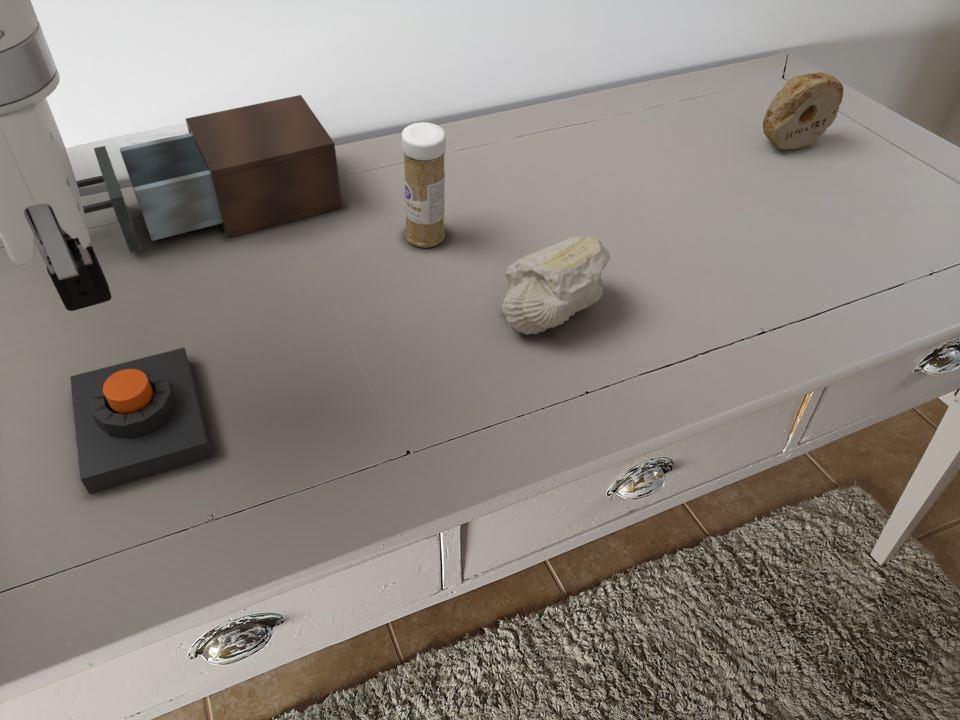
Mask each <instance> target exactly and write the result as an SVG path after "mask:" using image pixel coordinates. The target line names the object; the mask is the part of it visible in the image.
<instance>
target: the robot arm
mask: <svg viewBox="0 0 960 720" xmlns="http://www.w3.org/2000/svg"><path fill="white" fill-rule="evenodd" d="M59 84H60V73H59V71H58V68H57V66H56V62H55V60H54V58H53V55H52V52H51V50H50V46H49V44H48V42H47V40H46V37H45V34H44V32H43V29H42V27H41V24H40V21H39V18H38V15H37V13H36V10H35V8H34V6H33V3H32V1H31V0H0V239H1V242H2V244H3V246H4V248H5V251H6V252H7V255H8V257H9V258H10V261H11V262H12V263H14V264H15V265H18V266H25V265H26V264H29V263H33V261H34V251H35V250H34V249H35V247H36V249H37V250H38V252H39V254H40V256H41V258H42V260H43V262H44V264H45V265H46V271H47V273H48V275H49V277H50V279H51V281H52V284H53V286H54V287H55V290H56V291H57V293H58V296H59V298H60V300H61V302H62V303H63V306H64V308H65V310H67V311H68V312H75V311H78V310H81V309H85V308H89V307H93V306H96V305H99V304H103V303H106V302H107V303H108V302H109V301H111V300H112V297H113V296H112V293H111V290H110V287H109V282H108V280H107V278H106V276H105V273H104V271H103V269H102V266H101V264H100V262H99V259H98V257H97V255H96V252H95V250H94V247H93V245H90V242H91V236H90V232H89V227H88V222H87V218H86V214H84V209H83V206H84V205H83V201H82V198H81V193H80V190H79V189H80V188H78V186H77V182H76V181H77V179H76V175H75V173H74V169H73V166H72V163H71V160H70V157H69V154H68V152H67V151H68V150H67V148H66V145H65V142H64V140H63V138H62V135H61V132H60V130H59V127H58V124H57V122H56V120H55V117H54V115H53V112H52V109H51V106H50V105H49V101H48V100H47V97H49V96H50V95H52V93H53V92H54V91H56V89H57V87H58V85H59Z"/></svg>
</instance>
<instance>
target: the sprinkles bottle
mask: <svg viewBox="0 0 960 720" xmlns="http://www.w3.org/2000/svg"><path fill="white" fill-rule="evenodd" d="M446 134H447V133H446V132H445V130H444V129H443V128H442V127H441V126H440V125H437V124H435V123H432V122H423V121H421V122H414V123H411V124H409V125H407V126H406V127H405V128H403V130H402V131H401V151H402V153H403V164H404V165H403V166H404V209H405V210H404V212H405V223H406V224H405V226H406V229H405V239H406V240H407V242H408V243H409V244H410V245H412V246H415V247H417V248H423V249H424V248H425V249H426V248H427V249H428V248H432V247H435V246H438V245H439V244H441V243H442V242H443V241H444V239H445V237H446V236H445V235H446V234H445V233H446V232H445V225H444V223H445V220H444V219H445V201H446V199H445V196H446V195H445V194H446V193H445V192H446V191H445V189H446V187H445V186H446V184H445V183H446V181H445V179H446V178H445V177H446V175H445V153H446V150H447V135H446Z"/></svg>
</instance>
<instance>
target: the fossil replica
mask: <svg viewBox="0 0 960 720" xmlns="http://www.w3.org/2000/svg"><path fill="white" fill-rule="evenodd" d="M610 259H611V254H610V251H609V250H608V249H607V248H606V247H605V246H604V244H603V243H602V242H601V241H600V239H599V238H596V237H595V236H594V237H593V236H589V237H588V236H571V237H568V238H565V239H564V240H563V241H558V242H556V243H554V244H551V245H548V246H546V247H544V248H542V249H539V250H537V251H534V252H531V253H529V254H527V255H524V256H522V257H521V258H518V259H517V260H515V261H514V262H512V264H511V265H509V266H507V268H506V270H505V273H504V277H505V278H506V280H507V281H508V284H509V287H510V288H509V289H508V290H507V292H506V295H505V297H504V299H503V301H502V305H501V309H502V313H503V315H504V316H505V319H506V321H507V322H508V325H509V326H510V328H512V329H514V330H515V331H516V332H517V333H522V334H524V335H528V336H529V335H538V333H542V332H546V330H547V329H551V328H556V327H558V326H562V325H564V323H565V322H567V321H569V320H570V318H571V316H575V314H576V312H580V311H581V310H585V309H588V308H589V307H591V306H592V305H593V304H596V303H597V302H598V301H600V299H601V297H602V296H603V293H604V292H603V291H604V289H603V286H604V285H603V282H604V281H603V279H602V273H603V270H604V269H605V267H606V266H607V265H608V263H609V262H610Z"/></svg>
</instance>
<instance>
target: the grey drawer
mask: <svg viewBox="0 0 960 720" xmlns="http://www.w3.org/2000/svg"><path fill="white" fill-rule="evenodd" d="M93 151H94V154H95V157H96V161H97V164H98V166H99V169H100V170H99V171H100V172H101V175H97V176H92V177H88V178H82V179H79V180H76V182H77V186H78V189H80V188H85V187H90V186H94V185H95V186H96V185H99V184H102V183H103V184H104V185H105V188H106V191H107V194H108V197H109V199H108V200H103V201H99V202H95V203H92V204H87V205H83V209H84V214H85V215H86V214H89V213H93V212H98V211H102V210H106V209H111V208H113V211H114V214H115V216H116V219H117V222H118V225H119V227H120V229H121V232H122V236H123V237H124V240H125V242H126V246H127V248H128V251H129V253H130V254H132V253H136V252H140V251H142V249H143V248H142V247H141V244H140V241H139V238H138V235H137V232H136V229H135V226H134V224H133V221H132V218H131V215H130V212H129V209H128V206H127V203H126V200H125V197H124V194H123V192H122V189H121V187H120V184H119V183H120V182H119V181H118V177H117V175H116V172H115V169H114V167H113V164H112V161H111V158H110V156H109V152H108V150H107V147H106V145H103V146H98V147H97V146H96V147H93ZM119 151H120V155H121V157H122V161H123V163H124V167H125V170H126V172H127V175H128V177H129V181H130V185H131V187H132V189H133V192H134V195H135V198H136V201H137V203H138V206H139V209H140V211H141V215H142V217H143V220H144V223H145V226H146V229H147V231H148V234H149V236H150V240H151V241H157V240H161V239H166V238H170V237H174V236H177V235H181V234H185V233H189V232H193V231H197V230H201V229H205V228H208V227H212V226H217V225H220V224H221V223H223V220H222V216H221V213H220V209H219V205H218V201H217V197H216V193H215V189H214V185H213V181H212V177H211V173H210V171H209V169H208V167H207V165H206V163H205V161H204V159H203V157H202V155H201V153H200V151H199V149H198V147H197V144H196V142H195V140H194V138H193V136H192V134H191V133H189V132H187V133H183V134H178V135H173V136H168V137H164V138H160V139H159V138H158V139H154V140H150V141H145V142H141V143H136V144H131V145H127V146H126V145H125V146H122V147H121V146H120V147H119ZM221 225H222V224H221Z"/></svg>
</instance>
